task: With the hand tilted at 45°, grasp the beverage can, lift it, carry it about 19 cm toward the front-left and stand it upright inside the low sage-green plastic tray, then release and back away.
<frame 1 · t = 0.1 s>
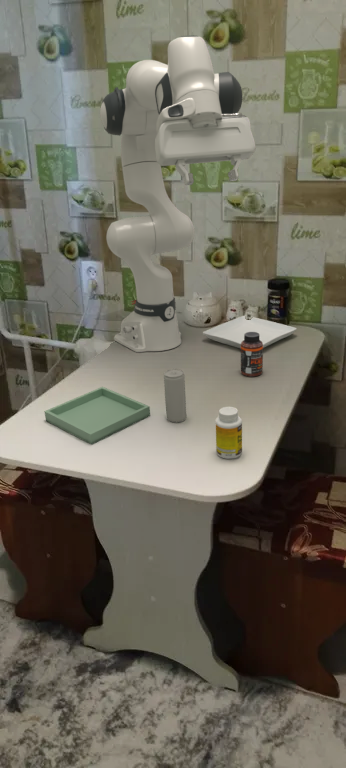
hand: (212, 181, 129), 54 cm above the table, tool tilted 30°, fingers open, 8 cm apart
supplement bottle: (251, 373, 176), on the table
beverage can: (176, 419, 154), on the table
green tray: (98, 418, 157), on the table
supplement bottle 2: (229, 453, 139), on the table
salad plate: (249, 340, 200), on the table
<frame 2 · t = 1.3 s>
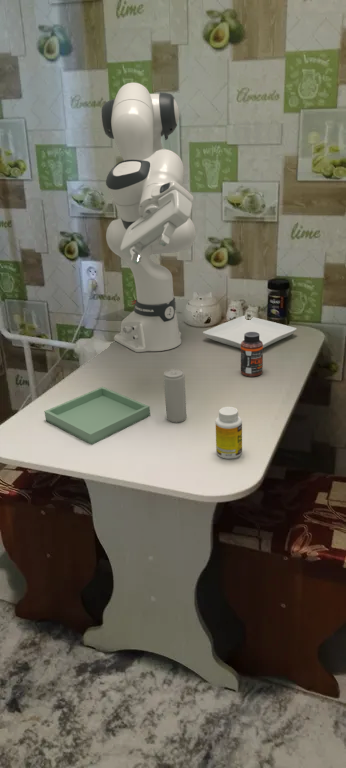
hand: (149, 253, 141), 39 cm above the table, tool tilted 55°, fingers open, 8 cm apart
nothing on the table moved.
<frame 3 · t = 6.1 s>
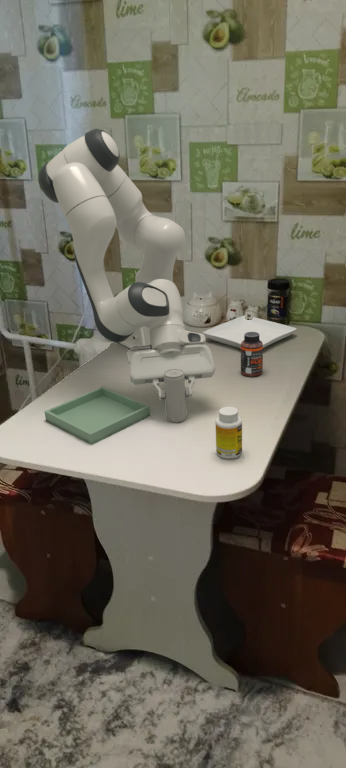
hand: (175, 397, 151), 6 cm above the table, tool tilted 45°, fingers closed on beverage can, 5 cm apart
beverage can: (176, 419, 154), on the table, touching gripper
everything else where it was.
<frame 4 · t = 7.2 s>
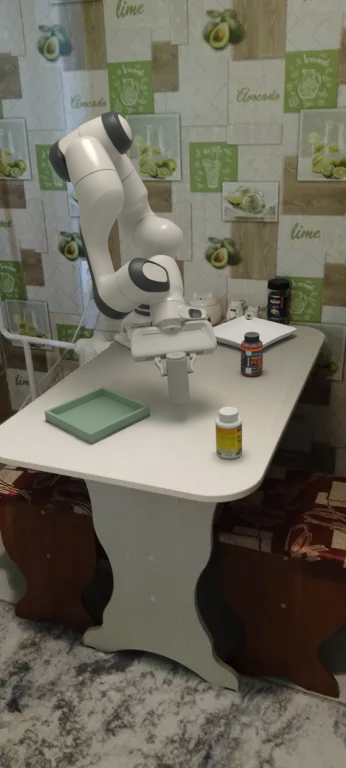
hand: (177, 374, 149), 12 cm above the table, tool tilted 45°, fingers closed on beverage can, 5 cm apart
beverage can: (179, 402, 153), point 4 cm above the table, touching gripper
everything else where it was.
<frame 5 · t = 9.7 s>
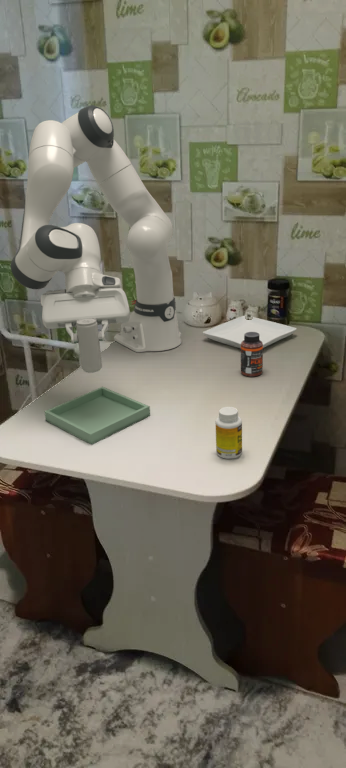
hand: (88, 341, 148), 20 cm above the table, tool tilted 45°, fingers closed on beverage can, 5 cm apart
beverage can: (92, 370, 152), point 13 cm above the table, touching gripper
everything else where it was.
when the fingers open (8 cm above the table, at t = 12.2 s): beverage can stays where it is, resting on green tray.
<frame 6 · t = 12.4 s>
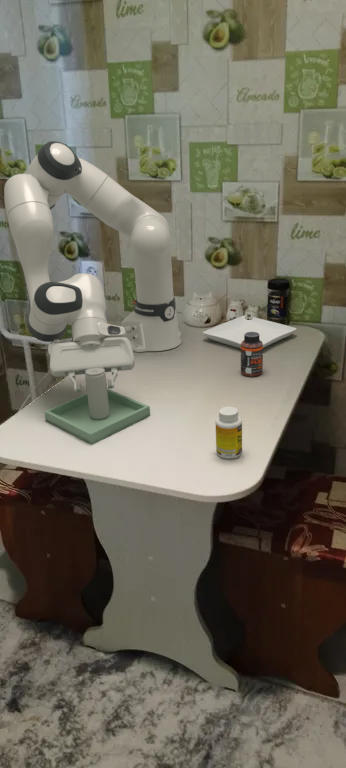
hand: (94, 389, 153), 8 cm above the table, tool tilted 45°, fingers open, 6 cm apart
beverage can: (100, 416, 157), resting on green tray
everything else where it was.
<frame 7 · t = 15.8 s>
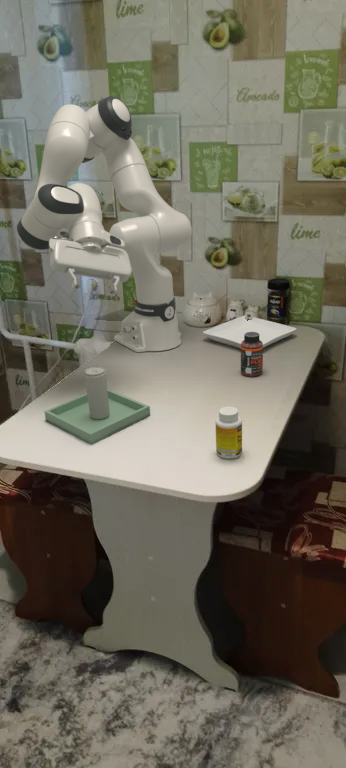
hand: (94, 289, 154), 29 cm above the table, tool tilted 50°, fingers open, 8 cm apart
nothing on the table moved.
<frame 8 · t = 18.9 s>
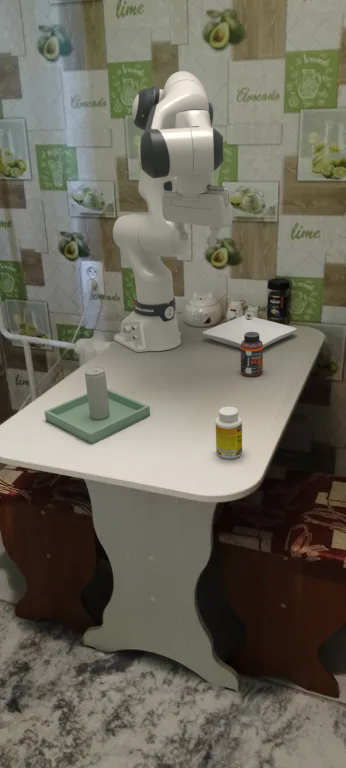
hand: (197, 242, 158), 37 cm above the table, tool pointing down, fingers open, 8 cm apart
nothing on the table moved.
at the end: beverage can inside the target area on the green tray (0.6 cm from its centre), point 0.4 cm above the green tray's base; beverage can tilted 0°; the gripper is holding nothing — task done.
